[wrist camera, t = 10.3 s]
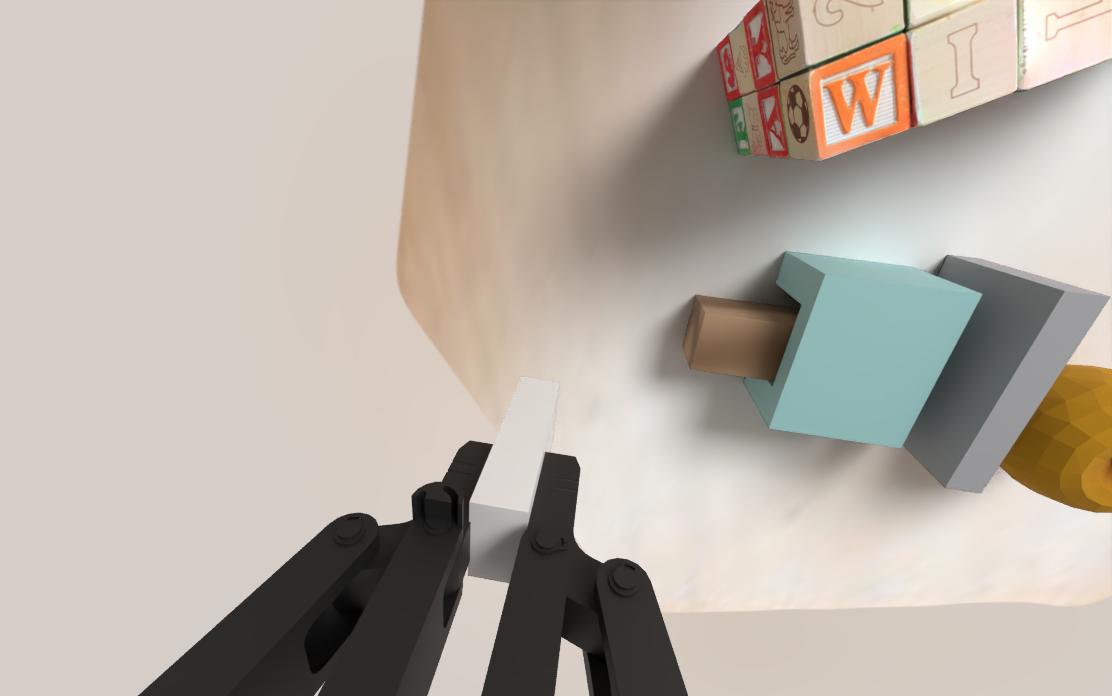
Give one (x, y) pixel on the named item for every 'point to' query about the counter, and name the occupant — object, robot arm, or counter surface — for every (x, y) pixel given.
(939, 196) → the counter surface
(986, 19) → the stack of blocks
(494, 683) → the robot arm
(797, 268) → the block
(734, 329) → the brown wooden bar
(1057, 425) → the apple
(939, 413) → the wall
